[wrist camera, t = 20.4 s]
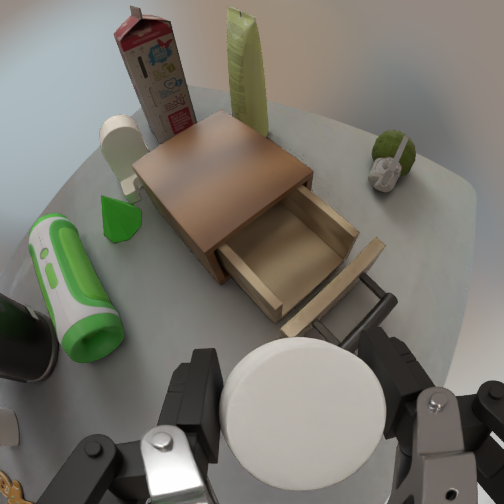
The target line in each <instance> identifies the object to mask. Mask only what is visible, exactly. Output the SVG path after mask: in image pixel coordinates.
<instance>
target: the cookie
mask: <svg viewBox="0 0 504 504" xmlns="http://www.w3.org/2000/svg"><path fill="white" fill-rule="evenodd" d="M0 492H1V493H2V494H3V495H4V496H5V497H7V498H9V501H8V502H7V503H8V504H34V503H31V502H28V501H25V500H24V499H23V493H22V486H21V484H20V483H19V482H18V481H17V480H13V485H12V482H11V480H10V479H9V477H8V476H7V475H6V474H5V473H4V472H2V471H0Z"/></svg>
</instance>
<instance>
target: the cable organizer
mask: <svg viewBox="0 0 504 504" xmlns="http://www.w3.org/2000/svg"><path fill="white" fill-rule="evenodd" d="M99 138H100V144H101V150H102V153H103V155H104V157H105V159H106V160H107V162H108V163H109V165H110V166H111V168H112V170H113V171H114V173H115V174H116V176H117V177H118V179H119V181H120V182H121V186H122V190H123V193H124V195H125V196H126V198H127V199H128V201H129V202H130V203H131V204H133V203H135V202H137V201H139V200H141V198H140V195H139V189H140V188H141V187H142V186H143V185H142V184H141V182H140V180H139V178H138V177H137V175H136V173H135V171H134V170H133V168H132V166H131V165H132V164H133V163H135V162H136V161H137V160H139V159H140V158H142V157H143V156H145V155H146V154H148V153H149V152H150V151H149V149H148V147H147V145H146V143H145V141H144V139H143V137H142V135H141V133H140V131H139V128H138V126H137V124H136V122H135V121H134V119H133V118H131V117H130V116H127V115H116V116H113V117H110V118H109V119H108V120H106V121H105V122H104V123H103V125H102V126H101V128H100V132H99Z"/></svg>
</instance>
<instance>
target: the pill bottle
mask: <svg viewBox="0 0 504 504" xmlns="http://www.w3.org/2000/svg"><path fill="white" fill-rule="evenodd" d="M385 421H386V402H385V398H384V394H383V390H382V387H381V385H380V383H379V381H378V379H377V377H376V376H375V374H374V373H373V371H372V370H371V369H370V368H369V366H368V365H367V364H366V363H365V362H364V361H362V360H361V359H360V358H358V357H357V356H355V355H354V354H352V353H350V352H349V351H346V350H344V349H342V348H340V347H338V346H336V345H334V344H331V343H329V342H326V341H323V340H318V339H313V338H306V337H290V338H283V339H279V340H275V341H272V342H269V343H266V344H264V345H262V346H260V347H258V348H257V349H255V350H253V351H252V352H251V353H249V354H248V355H246V356H245V357H244V358H243V359H242V360H241V361H240V362H239V363H238V364H237V365H236V366H235V368H234V369H233V370H232V372H231V373H230V375H229V377H228V378H227V380H226V382H225V385H224V387H223V390H222V393H221V397H220V402H219V422H220V426H221V430H222V433H223V436H224V438H225V440H226V442H227V444H228V446H229V447H230V449H231V450H232V452H233V453H234V455H235V457H236V458H237V460H238V461H239V463H240V464H241V465H242V466H243V467H244V468H245V469H246V470H247V471H248V472H249V473H250V474H251V475H253V476H254V477H255V478H257V479H259V480H260V481H262V482H264V483H266V484H268V485H271V486H273V487H275V488H279V489H285V490H290V491H311V490H317V489H322V488H326V487H329V486H331V485H334V484H337V483H339V482H341V481H343V480H344V479H346V478H348V477H349V476H351V475H352V474H354V473H355V472H356V471H357V470H359V469H360V468H361V467H362V466H363V465H364V464H365V463H366V462H367V461H368V459H369V458H370V457H371V456H372V454H373V452H374V451H375V449H376V448H377V446H378V444H379V442H380V440H381V437H382V434H383V431H384V427H385Z"/></svg>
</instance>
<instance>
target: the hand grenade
mask: <svg viewBox="0 0 504 504" xmlns="http://www.w3.org/2000/svg"><path fill="white" fill-rule="evenodd" d="M415 157H416V152H415V146H414V144H413V142H412V140H411V139H410V138H409V137H408V136H407V135H406V134H404V133H402V132H400V131H396V130H389V131H385V132H384V133H383V134H381V135H380V136H379V137H378V138H377V139H376V142H375V145H374V147H373V150H372V158H373V162H374V164H373V166H372V168H371V171H370V173H369V176H368V178H369V182H370V184H371V185H372V186H373V187H374V188H375V189H377V190H379V191H382V192H389V191H391V190H392V189H393V188H394V186H395V184H396V182H397V180H398V178H399V177H401V176H404V175H406V174H407V173H408V172H409V171H410V169H411V167H412V165H413V163H414V161H415Z"/></svg>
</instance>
